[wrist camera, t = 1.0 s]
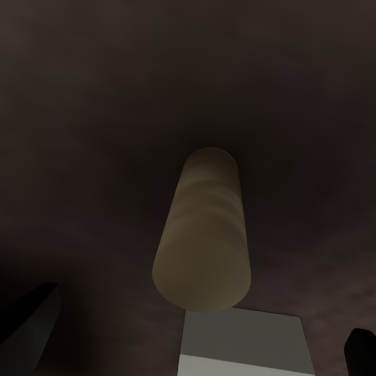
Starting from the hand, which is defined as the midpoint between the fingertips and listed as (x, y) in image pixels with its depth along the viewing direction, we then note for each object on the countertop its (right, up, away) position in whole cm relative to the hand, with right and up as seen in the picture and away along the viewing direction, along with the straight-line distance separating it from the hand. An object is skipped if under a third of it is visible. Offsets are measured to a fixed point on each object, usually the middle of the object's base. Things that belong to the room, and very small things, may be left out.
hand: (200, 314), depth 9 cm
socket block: (+4, -10, +17) cm, 20 cm away
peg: (+1, +5, +9) cm, 11 cm away
